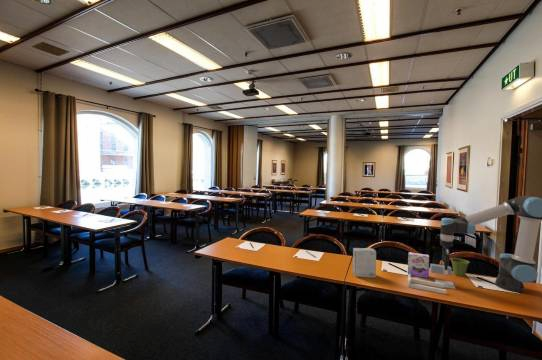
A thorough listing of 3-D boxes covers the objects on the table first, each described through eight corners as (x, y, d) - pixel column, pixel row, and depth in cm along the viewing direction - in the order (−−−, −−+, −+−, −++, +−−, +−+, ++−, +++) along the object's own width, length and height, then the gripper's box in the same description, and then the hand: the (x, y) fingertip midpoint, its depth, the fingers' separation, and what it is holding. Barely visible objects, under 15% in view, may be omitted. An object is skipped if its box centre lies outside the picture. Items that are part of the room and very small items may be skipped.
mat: (452, 282, 185) (452, 282, 185) (455, 289, 175) (455, 288, 175) (434, 279, 190) (434, 279, 190) (436, 285, 180) (436, 284, 180)
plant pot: (472, 276, 197) (473, 262, 197) (462, 278, 193) (462, 264, 192) (456, 271, 208) (456, 257, 208) (446, 272, 204) (446, 258, 203)
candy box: (407, 274, 198) (408, 253, 198) (407, 272, 204) (408, 251, 203) (428, 278, 192) (429, 256, 191) (428, 275, 197) (428, 254, 197)
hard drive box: (373, 273, 199) (373, 248, 198) (376, 278, 192) (376, 251, 191) (352, 272, 201) (353, 247, 200) (354, 276, 193) (355, 250, 192)
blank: (449, 273, 183) (450, 266, 183) (451, 275, 179) (451, 268, 179) (430, 270, 188) (430, 263, 188) (431, 272, 184) (431, 265, 184)
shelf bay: (443, 287, 178) (443, 280, 177) (446, 294, 168) (446, 286, 167) (408, 281, 187) (408, 274, 187) (408, 287, 177) (408, 279, 177)
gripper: (438, 236, 191) (436, 267, 192) (442, 242, 175) (440, 276, 176) (450, 238, 188) (449, 269, 189) (455, 244, 172) (453, 278, 173)
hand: (444, 272), depth 182 cm, fingers closed on blank, 5 cm apart
